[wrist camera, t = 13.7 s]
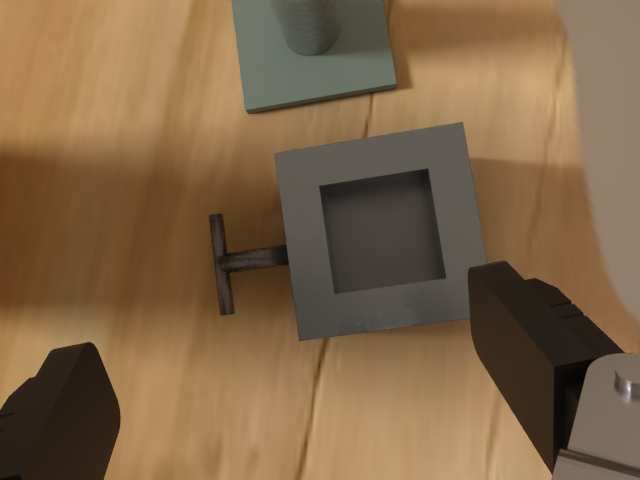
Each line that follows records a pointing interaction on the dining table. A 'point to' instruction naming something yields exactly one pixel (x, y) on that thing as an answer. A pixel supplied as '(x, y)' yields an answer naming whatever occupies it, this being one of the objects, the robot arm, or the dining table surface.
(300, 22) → the steel pin
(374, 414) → the dining table surface
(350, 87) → the mat
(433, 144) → the vise
